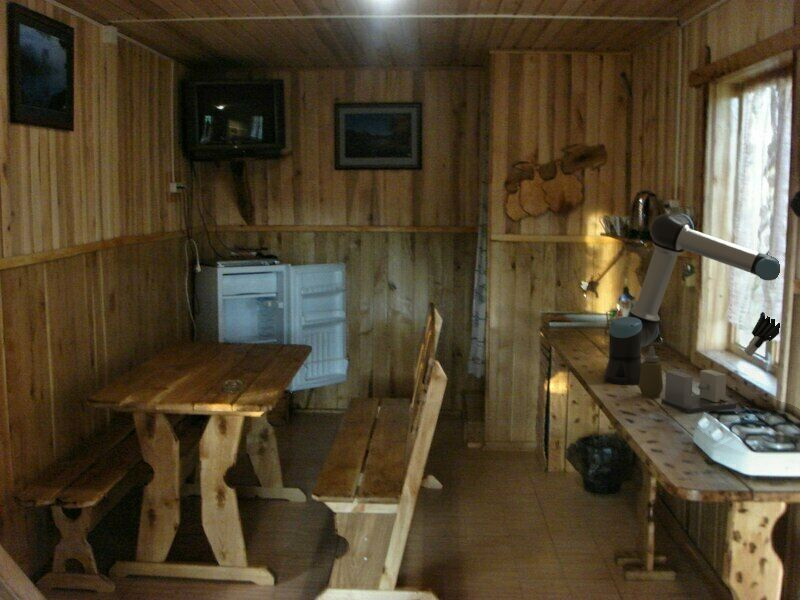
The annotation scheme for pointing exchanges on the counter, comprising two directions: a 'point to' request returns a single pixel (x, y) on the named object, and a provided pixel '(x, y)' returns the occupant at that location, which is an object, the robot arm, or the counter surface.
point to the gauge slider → (713, 385)
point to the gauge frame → (688, 395)
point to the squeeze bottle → (651, 375)
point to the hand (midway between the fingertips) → (747, 353)
